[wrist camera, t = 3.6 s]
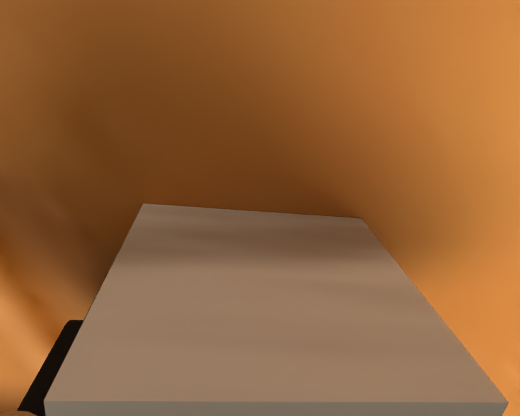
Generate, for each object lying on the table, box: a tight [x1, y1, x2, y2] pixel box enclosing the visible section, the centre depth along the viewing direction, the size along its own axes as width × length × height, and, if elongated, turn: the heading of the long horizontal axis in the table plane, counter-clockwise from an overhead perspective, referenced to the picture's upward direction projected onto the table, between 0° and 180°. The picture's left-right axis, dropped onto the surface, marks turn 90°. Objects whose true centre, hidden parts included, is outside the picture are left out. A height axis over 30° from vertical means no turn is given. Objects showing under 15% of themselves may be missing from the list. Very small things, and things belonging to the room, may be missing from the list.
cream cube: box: [44, 203, 509, 416], centre depth 9 cm, size 6×6×6 cm
